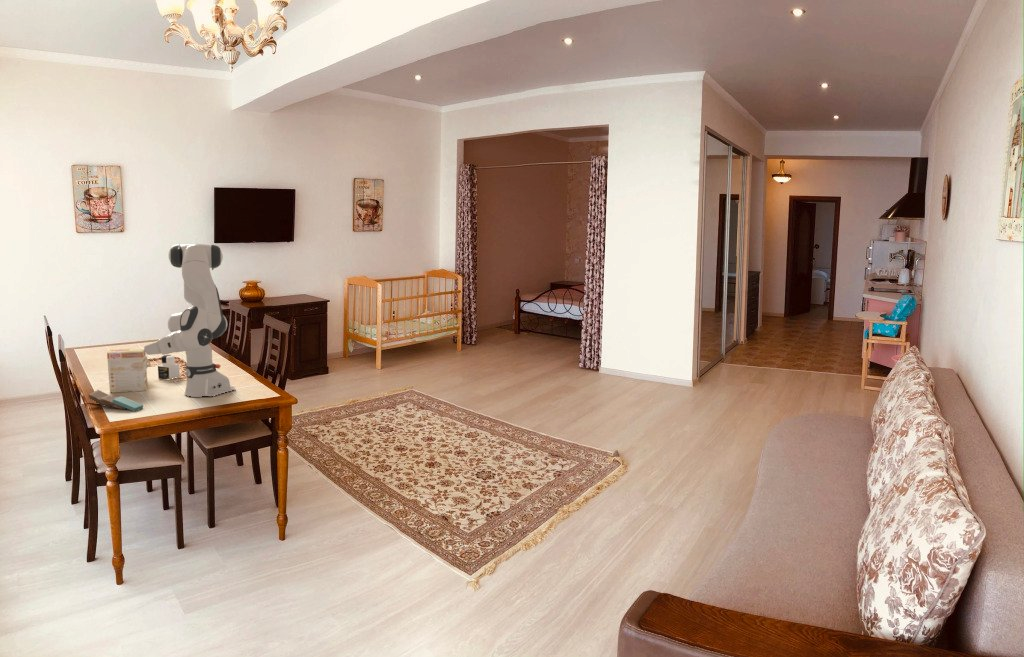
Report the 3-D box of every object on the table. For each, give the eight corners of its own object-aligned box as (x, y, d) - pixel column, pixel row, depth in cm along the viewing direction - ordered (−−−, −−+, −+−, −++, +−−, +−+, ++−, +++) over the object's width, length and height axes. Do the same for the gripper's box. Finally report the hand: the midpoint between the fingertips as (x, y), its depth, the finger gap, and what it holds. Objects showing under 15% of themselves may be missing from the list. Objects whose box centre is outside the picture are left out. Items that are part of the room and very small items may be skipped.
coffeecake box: (148, 387, 326) (145, 348, 323) (145, 391, 320) (142, 351, 316) (113, 389, 322) (110, 349, 318) (109, 393, 315) (106, 352, 312)
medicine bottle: (158, 379, 343) (156, 356, 341) (169, 376, 349) (168, 353, 347) (169, 380, 341) (167, 357, 339) (180, 377, 347) (178, 354, 345)
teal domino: (143, 405, 293) (121, 396, 294) (135, 408, 288) (112, 399, 289) (142, 408, 293) (120, 399, 294) (134, 411, 288) (112, 402, 289)
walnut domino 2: (131, 403, 294) (108, 394, 294) (124, 406, 289) (100, 398, 289) (130, 406, 295) (107, 398, 295) (123, 409, 290) (99, 401, 290)
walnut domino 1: (118, 400, 296) (98, 389, 297) (109, 404, 292) (88, 394, 293) (118, 403, 297) (97, 392, 298) (109, 407, 292) (88, 397, 293)
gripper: (196, 327, 288) (175, 331, 294) (156, 340, 270) (133, 344, 275) (201, 341, 289) (179, 345, 295) (161, 355, 271) (138, 359, 277)
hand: (157, 345), depth 285 cm, fingers closed
